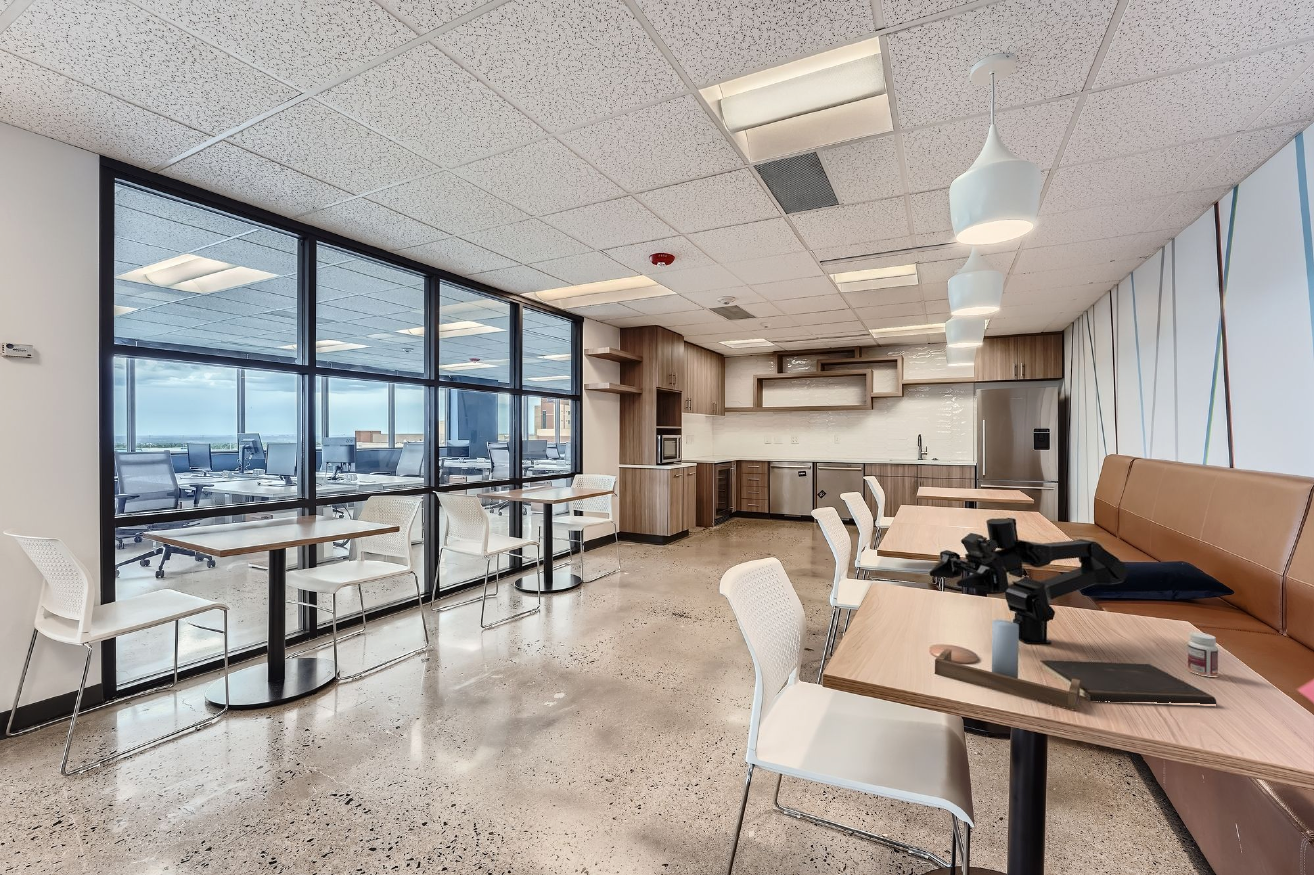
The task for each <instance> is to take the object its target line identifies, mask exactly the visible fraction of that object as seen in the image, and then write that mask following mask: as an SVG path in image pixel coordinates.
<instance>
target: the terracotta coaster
mask: <svg viewBox="0 0 1314 875" xmlns="http://www.w3.org/2000/svg"><path fill="white" fill-rule="evenodd" d="M945 649H950V650H952V652H951V662H954V663H958V664H962V665H966V664H974V663H977V661H978V660H979V658H978V655H977V653H975V652H974V651H973V650H971V649H968V648H965V647H962V646H959V645H952V644H943V643H942V644H939V643H938V644H934V645H933V644H932V645H931V646H929V650H928V651H929V654H931V656H933V657H934V658H937V657H938V656H939V655H940V654H941V653H942V652H943V651H944V650H945Z"/></svg>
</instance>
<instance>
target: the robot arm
mask: <svg viewBox="0 0 1314 875" xmlns="http://www.w3.org/2000/svg"><path fill="white" fill-rule="evenodd" d="M986 528H987V533H988V534H987V535H988V538H987V537H986V536H983V535H981V534H978V533H973V532H970V533H968V534H967V535H965V537H963V538H962V539H961V540H960V543H961V544H962V545H963V547H964V548H965V550H966V552H967V553H965V554H964V556H965V557H964V558H965V560H964V559H961V555H960V554H959V553H957V552H955V551H952V550H948V549H947V550H943V551H940V552H939V555H940V563H939V564H937V565H936V566H935V567H934V568H932V569H931V570H930V571H929V577H932V578H933V577H935V578H946V579H954V578H958V577H961V575H962V574H963V572H964V571H965V572H967V573H968V574H969V575H967V576H964V577H962V578H961V579H959V580H956V586H957V587H960V588H961V587H962V588H968V589H973V590H980V591H986V592H991V593H998V594H1002V593H1005V600H1006V603H1007V605H1008V606H1007V607H1008V610H1009V611H1010V612H1014V618H1013V619H1012V622H1014V623H1016V624H1018V625H1019V640H1018V641H1021V642H1023V643H1025V644H1032V645H1033V644H1035V645H1036V644H1039V645H1040V644H1041V645H1042V644H1043V645H1052V641H1051V640H1049V639H1048V622H1050V621H1053V620H1054V618H1055V614H1056V611H1055V609H1053V607H1052V605H1051V602H1052V600H1053V601H1054V600H1055V599H1058V598H1060V597H1063V596H1066V595H1069V594H1071V593H1074V592H1077V591H1080V590H1082V589H1083V590H1084V589H1085V588H1088V587H1091V586H1093V585H1114V584H1121V583H1123V582H1124V581H1125V580H1126V578H1127V576H1128V574H1129V571H1128V568H1127V567H1126V565H1125V563H1124V562H1123V561H1121V559H1119V558H1118V557H1117V556H1115V555H1114V554H1112V553H1111V552H1109V551H1108V550H1107V549H1105V548H1104V547H1103V546H1102V545H1101V544H1100V543H1098V542H1097V541H1094V540H1093V541H1092V540H1088V539H1083V538H1081V539H1076V540H1066V541H1055V542H1054V541H1053V542H1045V543H1042V542H1037V541H1036V542H1034V541H1028V540H1027V541H1026V540H1024V539H1019V537H1018V530H1017V520H1016V518H1013V517H1006V518H1003V517H1002V518H1001V517H1000V518H999V517H998V518H989V519H987V520H986ZM1068 559H1069V560H1071V559H1078V562H1079V563H1080V567H1077V568H1076V569H1072V570H1069V571H1067V572H1063V573H1061V574H1059V575H1056V576H1052V577H1049V578H1047V579H1045V580H1041V581H1039V580H1035V579H1032V578H1029V577H1023V576H1024V571H1025V568H1024V567H1023V565H1026V566H1028V567H1033V568H1043V567H1045V566H1048V565H1050V564H1051V563H1052V562H1054V561H1059V560H1068ZM1007 573H1008V574H1007ZM1008 575H1010V576H1013V577H1017V578H1019V580H1017V581H1014V580H1013V581H1012V582H1011V583H1012V584H1009V581H1008Z"/></svg>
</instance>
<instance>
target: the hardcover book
mask: <svg viewBox="0 0 1314 875" xmlns="http://www.w3.org/2000/svg"><path fill="white" fill-rule="evenodd" d="M1039 662H1040V663H1041V664H1042V665H1041V669H1043V670H1044V671H1045V672H1046V673H1048V674H1050V675H1051V676H1053V677H1054V678H1055V679H1057V680H1059V681H1060V682H1061V681H1062V683H1063V684H1065V685H1066V684H1067V685H1068V686H1067V685H1066V686H1067V687H1069V688H1070V685H1071V682H1072V679H1077V680H1080V695H1081V694H1082V695H1083V697H1084V696H1085V697H1086V698H1085V697H1084V698H1085V699H1087V698H1088V699H1089V700H1088V699H1087V700H1088V701H1089V702H1090V701H1098V702H1097V703H1108V701H1110V702H1157V703H1169V702H1171V703H1200V704H1216V705H1217V699H1216V698H1215V696H1213V695H1211V694H1210V693H1208V692H1205V691H1204V690H1201V689H1199V688H1197V687H1196V686H1194V685H1191V684H1189V683H1187V682H1185V681H1184V680H1182V679H1179V678H1177V677H1176V676H1174V675H1172V674H1170V673H1168V672H1166V671H1164V670H1162V669H1160V668H1158V667H1157V666H1154V665H1152V664H1151V663H1136V662H1135V663H1133V662H1132V663H1131V662H1105V661H1104V662H1103V661H1076V660H1053V659H1051V660H1049V659H1045V660H1044V659H1039ZM1082 695H1081V696H1082ZM1099 701H1100V702H1099ZM1105 701H1107V702H1105Z"/></svg>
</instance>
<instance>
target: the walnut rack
mask: <svg viewBox="0 0 1314 875" xmlns="http://www.w3.org/2000/svg"><path fill="white" fill-rule="evenodd" d="M951 652H952V650H950V649H945V650H944V651H943V652H942V653H941V654H940V655H939V656H938V657H935V658H934V674H935V675H939V676H940V677H941V676H942V677H947V678H950V679H953V680H956V681H961V682H963V683H969V684H971V685H976V686H979V687H982V688H983V687H984V688H987V689H990V690H994V691H997V692H1002V693H1005V694H1009V695H1012V696H1013V695H1014V696H1017V697H1021V698H1024V699H1028V700H1031V701H1035V700H1037V701H1036V702H1038V703H1043V702H1044V704H1046V703H1049V704H1048V705H1050V704H1052V705H1051V706H1054V705H1057V706H1056V707H1058V706H1060V707H1059V708H1061V707H1065V708H1068V709H1067V710H1069V709H1073V710H1076V711H1077V708H1076V707H1078V703H1079V700H1080V695H1081V694H1080V680H1077V679H1072V682H1071V685H1070V687H1069V689H1068V690H1066V689H1061V688H1058V687H1053V686H1050V685H1045V684H1041V683H1038V682H1034V681H1029V680H1025V679H1021V678H1019V677H1018V678H1014V677H1010V676H1006V675H1002V674H998V673H994V672H992V671H989V670H986V669H981V668H977V667H973V666H969V665H966V664H962V663H954V662H951ZM1065 708H1064V709H1065Z"/></svg>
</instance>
